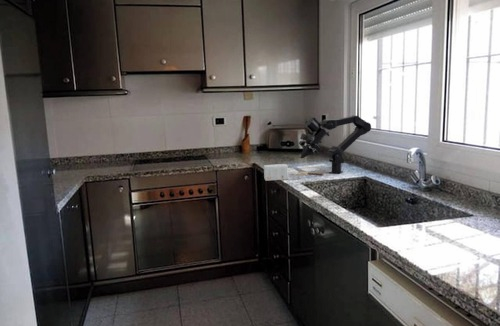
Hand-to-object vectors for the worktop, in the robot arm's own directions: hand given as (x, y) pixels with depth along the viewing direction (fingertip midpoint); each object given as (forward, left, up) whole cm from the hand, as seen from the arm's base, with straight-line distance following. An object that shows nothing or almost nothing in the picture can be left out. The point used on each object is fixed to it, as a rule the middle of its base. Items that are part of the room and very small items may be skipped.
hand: (301, 158), depth 215 cm
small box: (+6, -6, -7) cm, 11 cm away
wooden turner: (-8, +1, -11) cm, 14 cm away
